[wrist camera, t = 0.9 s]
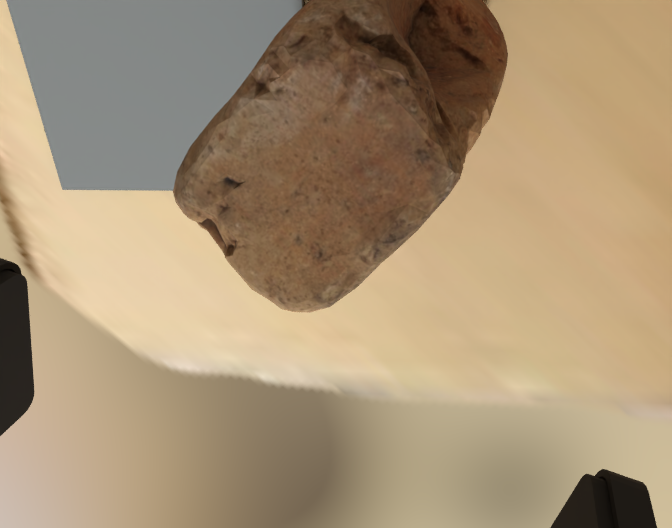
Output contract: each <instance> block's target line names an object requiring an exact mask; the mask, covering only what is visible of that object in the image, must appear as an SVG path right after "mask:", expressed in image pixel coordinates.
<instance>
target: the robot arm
mask: <svg viewBox="0 0 672 528" xmlns="http://www.w3.org/2000/svg"><path fill="white" fill-rule="evenodd" d="M33 397H34V380H33V366H32V350H31V334H30V320H29V304H28V289H27V281H26V278H25V277H24V276H23V275H22V274H21V270H20V268H19V266H18V265H17V264H15V263H12V262H10V261H7V260H4V259H1V258H0V436H1V435H2V434H3V433H4V432H5V431H6V430H7V429H8V428H9V427H10V426H12V425H13V424H14V423H15V422H16V421H17V420H18V419H19V418H20V417H21V416H22V415H23V414H24V413H25V412H26V411H27V410H28V408H29V407H30V405H31V403H32V400H33ZM551 528H657V526H656V521H655V517H654V513H653V509H652V505H651V501H650V496H649V493H648V490H647V487H646V486H645V484H644V483H643V482H640V481H637V480H634V479H631V478H628V477H625V476H623V475H620V474H617V473H614V472H611V471H608V470H605V469H602V470H600V471H599V472H598V473H597V474H596V475H595V476H592V475H589V474H585V475H584V476H583V477H582V478H581V479H580V481H579V483H578V484H577V486H576V488H575V489H574V491H573V492H572V494H571V496H570V497H569V499H568V500H567V502H566V504H565V505H564V507H563V508H562V510H561V512H560V513H559V515H558V517H557V518H556V520H555V521H554V523H553V524H552V526H551Z"/></svg>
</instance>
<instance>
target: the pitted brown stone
mask: <svg viewBox="0 0 672 528" xmlns="http://www.w3.org/2000/svg"><path fill="white" fill-rule="evenodd" d="M507 57H508V53H507V46H506V42H505V39H504V35H503V32H502V31H501V29H500V26H499V24H498V22H497V20H496V19H495V17H494V16H493V14H492V13H491V11H490V10H489V9H488V7H487V6H486V5H485V4H484V2H483V1H482V0H310V1H309V2H308V3H307V4H306V5H305V6H304V7H302V8H301V9H300V10H299V11H298V12H297V13H296V14H295V15H294V16H293V17H292V18H291V19H290V20H289V21H288V22H287V23H286V25H285V26H284V27H283V28H282V29H281V30H280V31H279V32H278V34H277V35H276V36H275V37H274V39H273V40H272V42H271V43H270V45H269V46H268V47H267V49H266V50H265V52H264V53H263V55H262V56H261V58H260V59H259V61H258V62H257V64H256V65H255V67H254V68H253V70H252V71H251V73H250V74H249V75H248V77H247V78H246V79H245V81H244V82H243V83H242V85H241V86H240V87H239V88H238V90H237V91H236V92H235V94H234V95H233V96H232V97H231V99H230V100H229V101H228V102H227V103H226V104H225V105H224V106H223V107H222V108H221V109H220V110H219V112H218V113H217V114H216V115H215V116H214V117H213V118H212V120H211V121H210V122H209V123H208V125H207V126H206V127H205V128H204V130H203V131H202V132H201V133H200V135H199V136H198V137H197V139H196V140H195V141H194V143H193V144H192V145H191V146H190V148H189V150H188V152H187V154H186V156H185V158H184V159H183V161H182V163H181V165H180V167H179V169H178V171H177V174H176V179H175V184H174V189H173V193H174V197H175V201H176V203H177V205H178V206H179V207H180V209H181V210H182V212H183V213H184V214H185V215H186V216H187V217H188V218H189V219H192V220H194V221H196V222H197V223H198V224H199V225H200V226H201V228H203V229H205V230H207V231H208V232H209V233H210V235H211V236H212V237H213V239H214V240H215V241H216V243H217V244H218V246H219V247H220V248H221V250H222V251H223V253H224V255H225V258H226V259H227V261H228V262H229V263H230V265H231V266H232V267H233V268H234V269H235V270H236V272H237V273H238V274H239V275H240V276H241V277H242V278H243V280H244V281H245V282H246V283H247V284H248V285H249V287H250V288H251V289H252V290H254V291H256V292H257V293H259V294H260V295H262V296H264V297H265V298H267V299H268V300H270V301H272V302H273V303H274V304H276V305H277V306H278V307H280V308H281V309H284V310H288V311H292V312H313V311H316V310H320V309H324V308H327V307H330V306H332V305H333V304H334V303H336V302H337V301H338V300H340V299H341V298H343V297H344V296H345V295H347V294H348V293H350V292H351V291H352V290H354V289H355V288H356V287H358V286H359V285H360V284H361V283H362V282H363V281H364V280H365V279H366V278H367V277H368V276H369V275H370V274H371V273H372V272H373V271H374V270H375V269H376V268H377V267H378V266H379V265H380V264H381V263H382V262H383V261H384V260H385V259H386V258H388V257H389V256H390V255H391V254H392V253H394V252H395V251H396V250H397V249H398V248H399V247H400V246H401V245H402V244H403V243H404V242H405V241H406V240H408V239H409V238H410V237H411V236H412V235H413V234H414V233H415V232H416V231H417V230H418V229H419V228H420V227H421V226H422V225H423V223H424V222H425V221H426V220H427V219H428V218H429V217H430V216H431V214H432V213H433V212H434V211H435V210H436V209H437V208H438V206H439V205H440V204H441V203H442V202H443V201H444V200H445V198H446V197H447V196H448V195H449V194H450V192H451V191H452V189H453V188H454V186H455V185H456V183H457V182H458V180H459V179H460V176H461V173H462V170H463V164H464V162H465V157H466V154H467V153H468V152H469V151H470V150H471V148H472V147H473V145H474V144H475V142H476V140H477V139H478V137H479V136H480V133H481V129H482V128H483V127H484V125H485V124H486V123H487V121H488V120H489V119H490V116H491V112H492V109H493V107H494V104H495V102H496V99H497V97H498V94H499V91H500V88H501V85H502V82H503V78H504V74H505V70H506V66H507Z"/></svg>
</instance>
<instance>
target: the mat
mask: <svg viewBox="0 0 672 528" xmlns="http://www.w3.org/2000/svg"><path fill="white" fill-rule="evenodd" d="M6 1H7V4H8V7H9V11H10V14H11V17H12V21H13V24H14V28H15V31H16V34H17V38H18V41H19V44H20V48H21V51H22V55H23V58H24V61H25V65H26V68H27V71H28V75H29V78H30V82H31V85H32V88H33V92H34V95H35V98H36V102H37V105H38V109H39V112H40V115H41V119H42V122H43V125H44V129H45V132H46V136H47V139H48V142H49V146H50V149H51V153H52V156H53V159H54V163H55V166H56V169H57V173H58V176H59V180H60V183H61V186H62V190H171V191H173V189H174V184H175V179H176V174H177V171H178V169H179V167H180V165H181V163H182V161H183V159H184V158H185V156H186V154H187V152H188V150H189V148H190V146H191V145H192V144H193V143H194V141H195V140H196V139H197V137H198V136H199V135H200V133H201V132H202V131H203V130H204V128H205V127H206V126H207V125H208V123H209V122H210V121H211V120H212V118H213V117H214V116H215V115H216V114H217V113H218V112H219V110H220V109H221V108H222V107H223V106H224V105H225V104H226V103H227V102H228V101H229V100H230V99H231V97H232V96H233V95H234V94H235V92H236V91H237V90H238V88H239V87H240V86H241V85H242V83H243V82H244V81H245V79H246V78H247V77H248V75H249V74H250V73H251V71H252V70H253V68H254V67H255V65H256V64H257V62H258V61H259V59H260V58H261V56H262V55H263V53H264V52H265V50H266V49H267V47H268V46H269V45H270V43H271V42H272V40H273V39H274V37H275V36H276V35H277V34H278V32H279V31H280V30H281V29H282V28H283V27H284V26H285V25H286V23H287V22H288V21H289V20H290V19H291V18H292V17H293V16H294V15H295V14H296V13H297V12H298V11H299V10H300V9H301V8H302V7H304V0H6Z"/></svg>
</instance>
